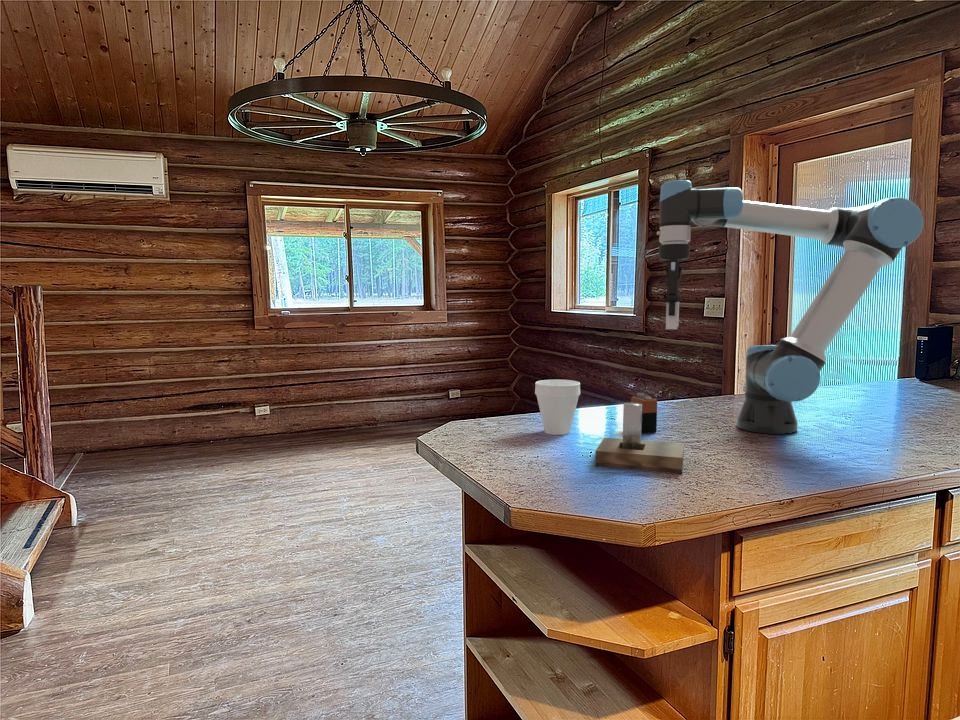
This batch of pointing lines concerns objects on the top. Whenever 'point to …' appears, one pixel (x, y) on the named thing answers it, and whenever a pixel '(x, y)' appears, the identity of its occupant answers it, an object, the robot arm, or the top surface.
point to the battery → (647, 412)
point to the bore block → (641, 456)
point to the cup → (557, 404)
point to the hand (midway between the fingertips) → (672, 327)
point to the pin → (632, 426)
